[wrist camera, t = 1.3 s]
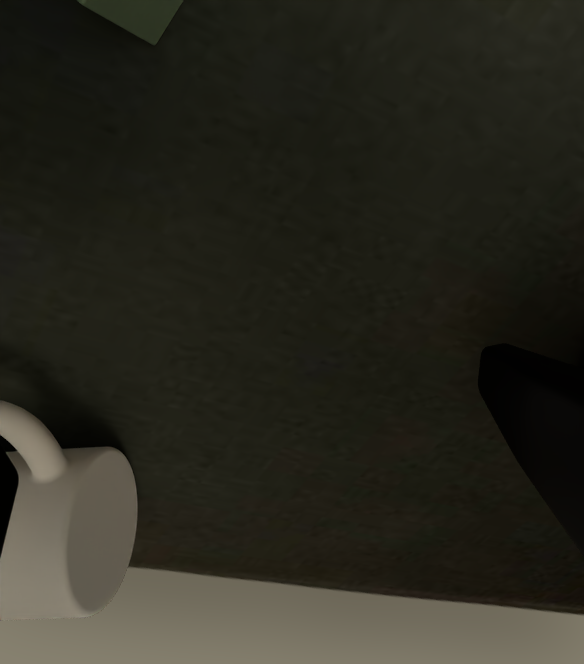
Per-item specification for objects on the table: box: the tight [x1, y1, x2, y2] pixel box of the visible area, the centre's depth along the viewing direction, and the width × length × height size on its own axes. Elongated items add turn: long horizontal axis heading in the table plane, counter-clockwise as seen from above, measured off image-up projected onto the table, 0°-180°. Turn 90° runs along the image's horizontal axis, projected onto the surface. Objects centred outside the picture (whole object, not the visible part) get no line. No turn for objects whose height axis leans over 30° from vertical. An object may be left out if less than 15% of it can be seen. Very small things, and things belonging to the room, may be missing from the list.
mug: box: [0, 400, 137, 621], centre depth 22 cm, size 12×10×8 cm
